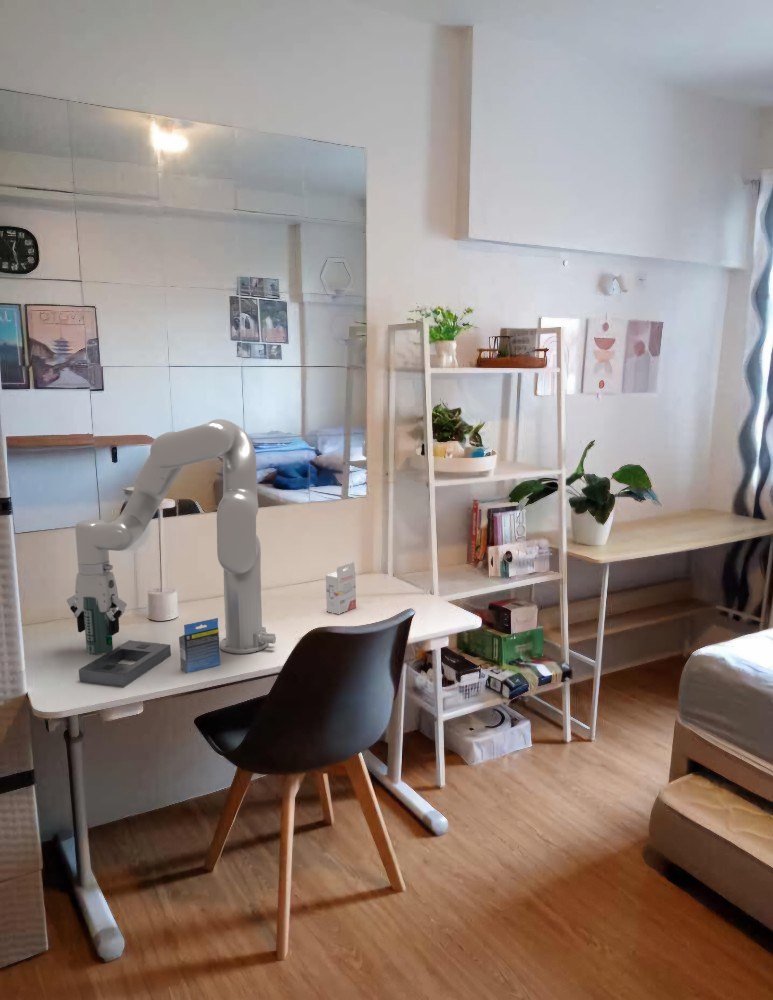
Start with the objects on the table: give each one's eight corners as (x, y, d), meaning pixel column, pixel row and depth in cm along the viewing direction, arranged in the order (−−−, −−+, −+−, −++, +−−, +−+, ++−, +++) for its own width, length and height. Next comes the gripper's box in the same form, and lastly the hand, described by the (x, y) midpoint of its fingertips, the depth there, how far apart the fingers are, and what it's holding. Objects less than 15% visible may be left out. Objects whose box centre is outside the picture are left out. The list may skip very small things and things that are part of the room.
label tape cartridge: (214, 660, 190) (212, 613, 188) (220, 665, 187) (218, 617, 185) (180, 668, 185) (177, 620, 182) (186, 674, 182) (183, 625, 179)
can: (116, 650, 197) (112, 594, 194) (93, 656, 193) (89, 600, 190) (106, 644, 201) (102, 590, 198) (83, 650, 197) (79, 594, 194)
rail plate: (170, 655, 193) (170, 644, 192) (124, 687, 174) (123, 674, 173) (130, 651, 196) (129, 639, 196) (79, 681, 177) (78, 669, 177)
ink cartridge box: (344, 605, 234) (343, 559, 231) (356, 608, 231) (356, 561, 228) (325, 612, 227) (324, 564, 225) (338, 615, 224) (337, 567, 222)
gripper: (132, 566, 194) (136, 630, 197) (74, 562, 199) (79, 624, 202) (114, 574, 187) (118, 640, 190) (55, 569, 192) (60, 633, 195)
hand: (98, 632), depth 196 cm, fingers open, 9 cm apart
